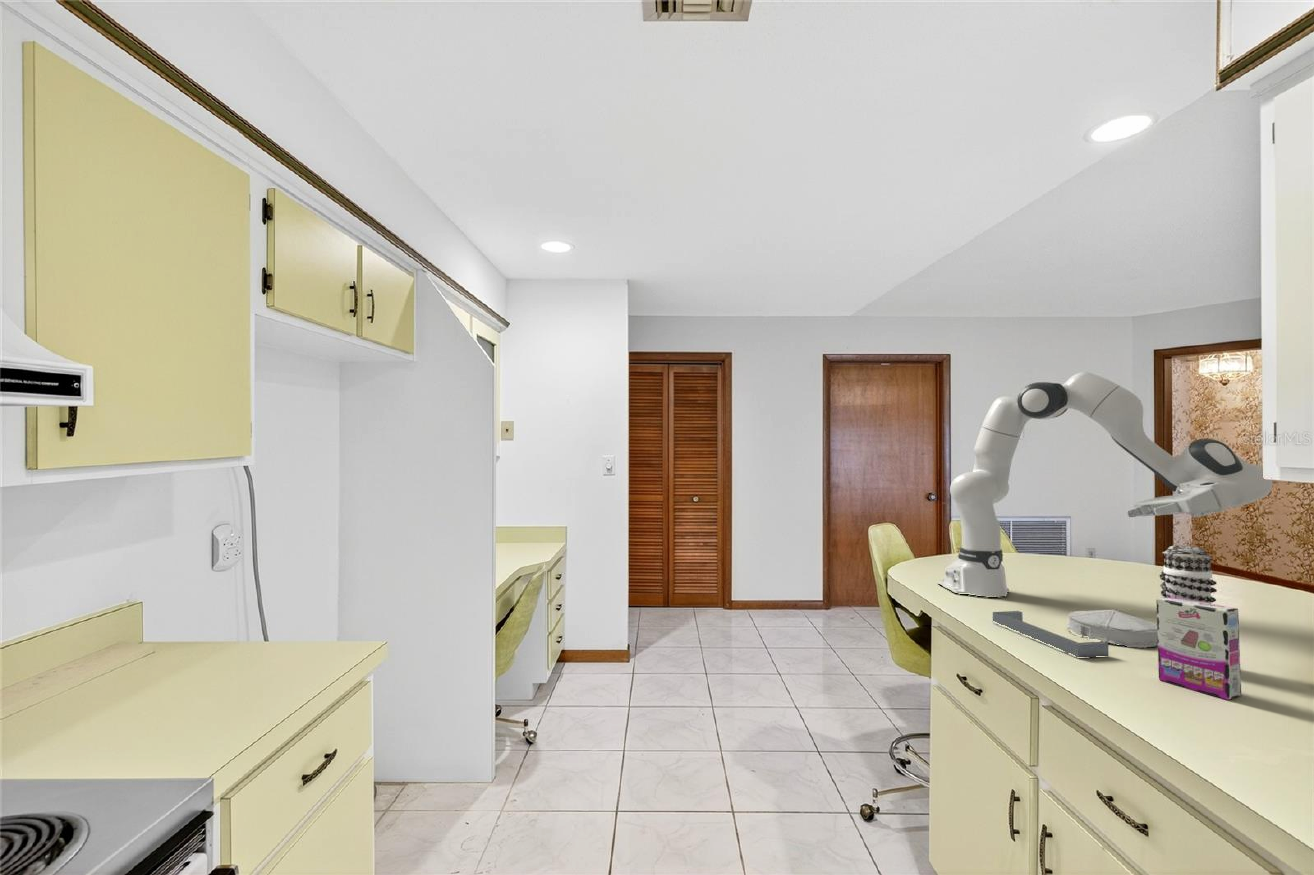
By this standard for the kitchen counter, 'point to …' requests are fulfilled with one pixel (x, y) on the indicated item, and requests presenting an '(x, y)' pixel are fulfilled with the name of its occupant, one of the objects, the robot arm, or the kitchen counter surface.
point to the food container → (1114, 628)
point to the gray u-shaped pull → (1050, 636)
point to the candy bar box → (1199, 646)
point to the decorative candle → (1187, 574)
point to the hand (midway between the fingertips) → (1141, 513)
